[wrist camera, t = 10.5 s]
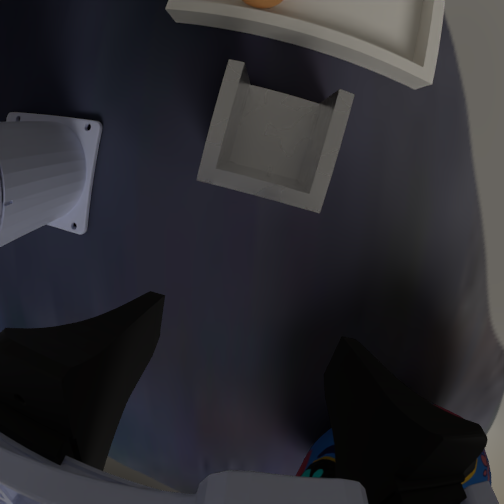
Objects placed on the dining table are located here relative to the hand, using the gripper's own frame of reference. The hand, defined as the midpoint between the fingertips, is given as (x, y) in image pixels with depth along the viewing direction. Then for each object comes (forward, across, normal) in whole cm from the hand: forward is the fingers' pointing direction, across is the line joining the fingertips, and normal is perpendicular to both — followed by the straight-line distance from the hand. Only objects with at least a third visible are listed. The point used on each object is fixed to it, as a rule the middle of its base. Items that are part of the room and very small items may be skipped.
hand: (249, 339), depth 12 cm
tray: (+9, +1, -20) cm, 22 cm away
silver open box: (+9, +1, -8) cm, 12 cm away
